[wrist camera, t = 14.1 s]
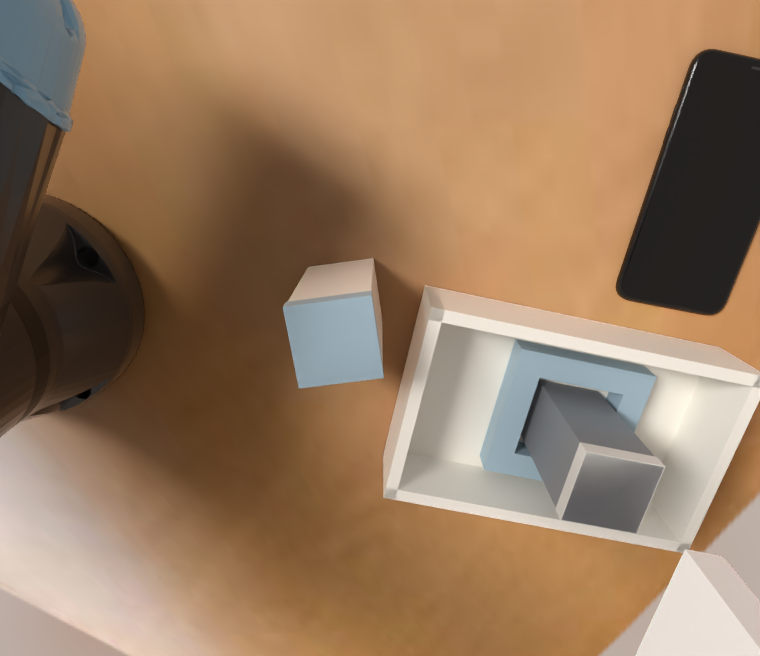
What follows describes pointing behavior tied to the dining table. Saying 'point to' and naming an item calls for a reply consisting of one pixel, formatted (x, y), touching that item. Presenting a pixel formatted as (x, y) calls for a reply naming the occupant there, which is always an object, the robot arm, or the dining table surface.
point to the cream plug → (336, 324)
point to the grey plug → (589, 458)
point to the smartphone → (700, 191)
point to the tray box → (513, 399)
